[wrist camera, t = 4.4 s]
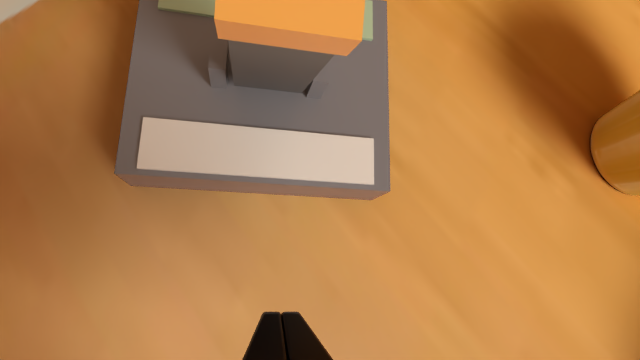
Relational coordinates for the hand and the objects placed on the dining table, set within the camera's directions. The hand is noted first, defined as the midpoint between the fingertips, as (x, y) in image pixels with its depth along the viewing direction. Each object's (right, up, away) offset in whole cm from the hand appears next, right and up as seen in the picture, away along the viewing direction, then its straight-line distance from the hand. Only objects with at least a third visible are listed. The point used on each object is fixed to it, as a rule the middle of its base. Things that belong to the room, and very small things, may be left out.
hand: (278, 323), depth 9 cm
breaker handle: (-2, +9, +12) cm, 15 cm away
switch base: (-3, +8, +15) cm, 17 cm away
